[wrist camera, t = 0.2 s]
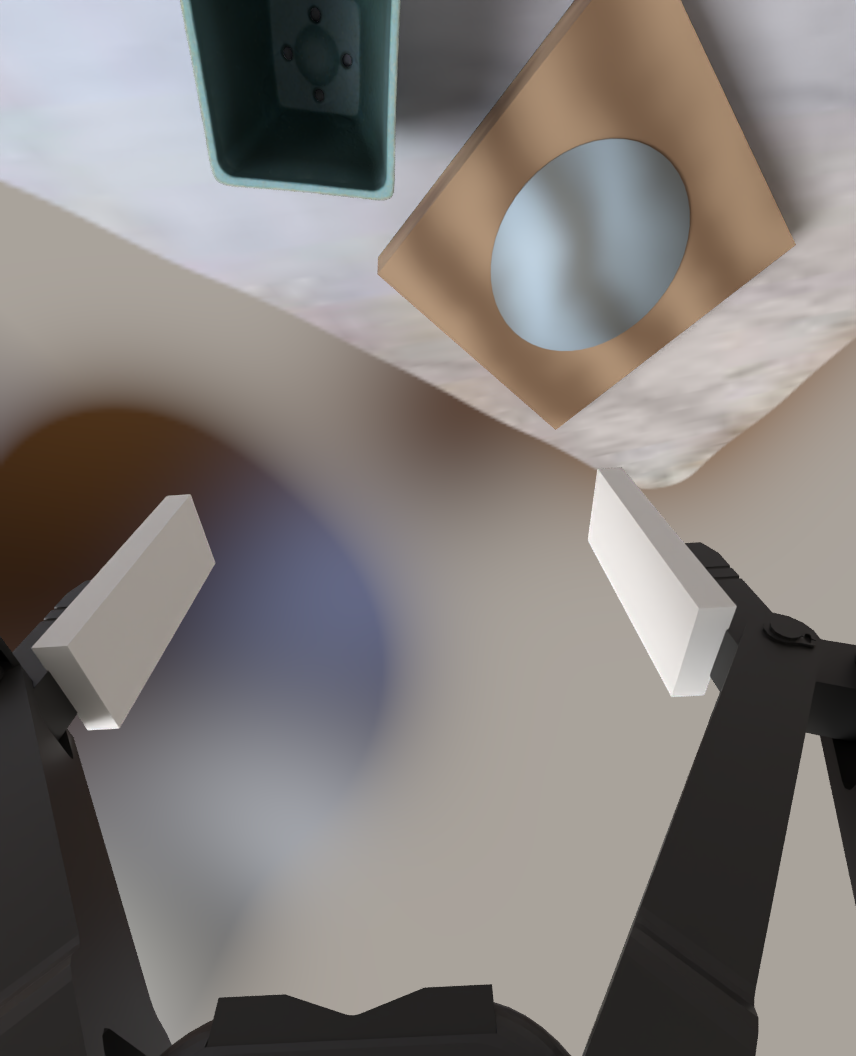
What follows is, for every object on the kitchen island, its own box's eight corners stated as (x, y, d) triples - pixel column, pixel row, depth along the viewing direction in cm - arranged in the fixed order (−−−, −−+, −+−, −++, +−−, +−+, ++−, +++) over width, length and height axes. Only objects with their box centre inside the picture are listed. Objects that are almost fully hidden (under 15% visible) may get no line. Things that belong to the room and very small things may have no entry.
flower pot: (215, -85, 23) (157, -107, 17) (400, -58, 24) (404, -69, 18) (248, 143, 30) (213, 185, 24) (393, 158, 31) (394, 202, 25)
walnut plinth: (626, -68, 24) (648, -72, 22) (772, 229, 35) (797, 245, 33) (378, 257, 35) (377, 275, 33) (548, 410, 46) (556, 431, 44)
